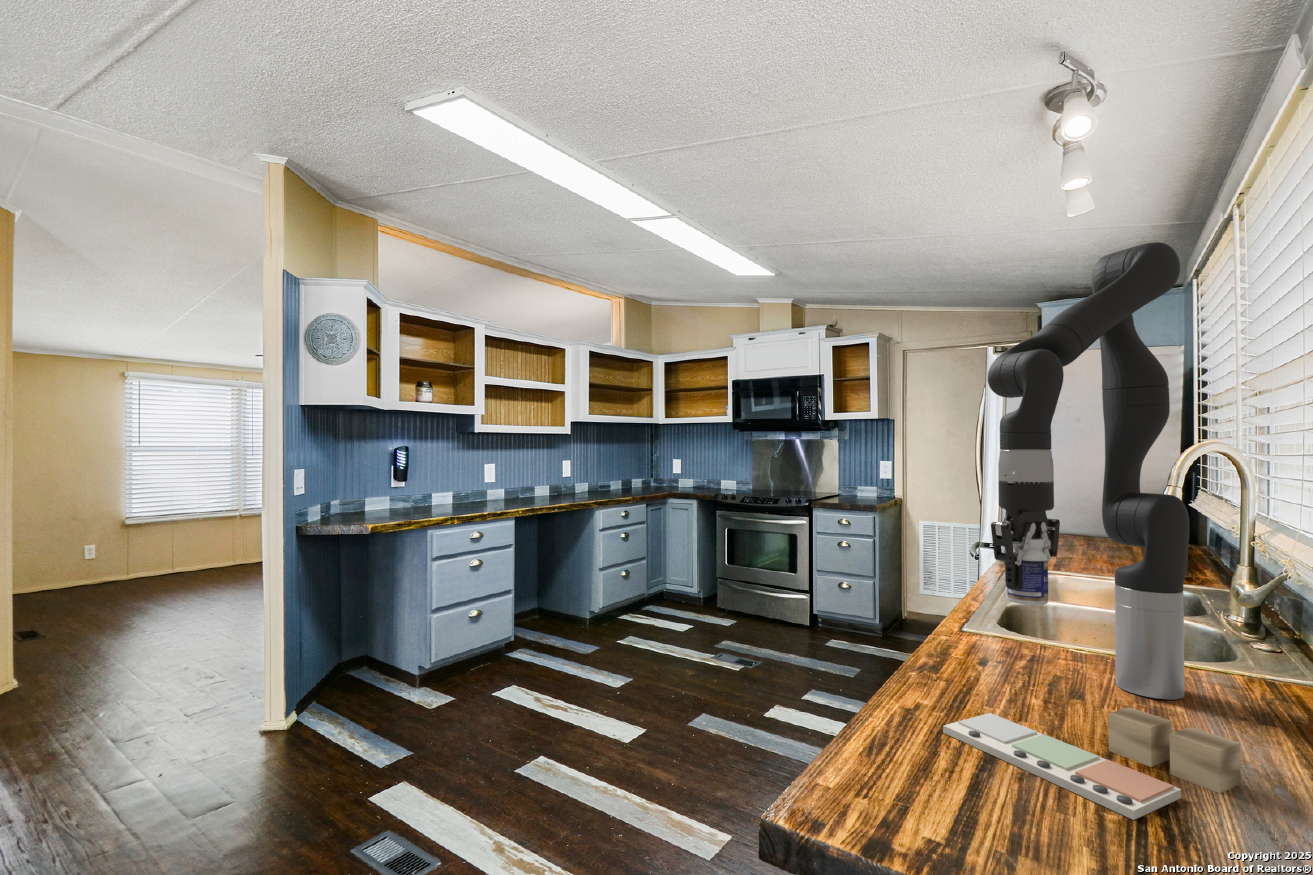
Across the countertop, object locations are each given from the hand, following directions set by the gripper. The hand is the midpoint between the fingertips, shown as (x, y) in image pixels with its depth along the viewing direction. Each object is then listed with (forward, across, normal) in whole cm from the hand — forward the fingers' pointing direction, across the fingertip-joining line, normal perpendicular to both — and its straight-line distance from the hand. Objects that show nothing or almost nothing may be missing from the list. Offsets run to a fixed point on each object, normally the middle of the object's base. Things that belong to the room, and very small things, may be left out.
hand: (1026, 586), depth 99 cm
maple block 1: (+19, +1, +16) cm, 25 cm away
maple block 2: (+19, +1, +23) cm, 30 cm away
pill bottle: (+3, 0, 0) cm, 3 cm away
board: (+19, +14, +12) cm, 27 cm away
